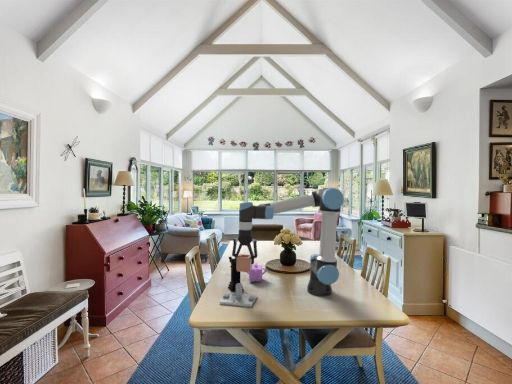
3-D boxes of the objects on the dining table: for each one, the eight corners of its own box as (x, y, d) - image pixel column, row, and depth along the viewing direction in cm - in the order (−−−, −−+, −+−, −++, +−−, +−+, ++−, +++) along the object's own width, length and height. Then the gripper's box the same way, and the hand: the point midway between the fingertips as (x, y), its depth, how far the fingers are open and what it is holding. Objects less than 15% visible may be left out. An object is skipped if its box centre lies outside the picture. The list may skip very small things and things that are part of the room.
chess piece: (227, 287, 181) (227, 256, 180) (239, 286, 184) (239, 255, 183) (231, 292, 173) (231, 259, 173) (243, 290, 176) (243, 258, 176)
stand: (256, 297, 165) (257, 281, 165) (251, 307, 152) (251, 289, 151) (227, 294, 169) (227, 279, 169) (219, 304, 156) (219, 287, 155)
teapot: (270, 281, 193) (270, 265, 193) (255, 285, 185) (255, 269, 185) (256, 275, 205) (256, 261, 205) (241, 279, 197) (241, 264, 197)
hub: (251, 268, 163) (252, 255, 163) (248, 272, 156) (249, 258, 156) (240, 267, 164) (240, 254, 164) (236, 271, 158) (237, 257, 157)
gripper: (263, 229, 161) (262, 268, 162) (230, 227, 166) (229, 265, 166) (261, 231, 154) (260, 272, 154) (226, 228, 158) (225, 269, 159)
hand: (244, 269), depth 160 cm, fingers closed on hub, 7 cm apart
